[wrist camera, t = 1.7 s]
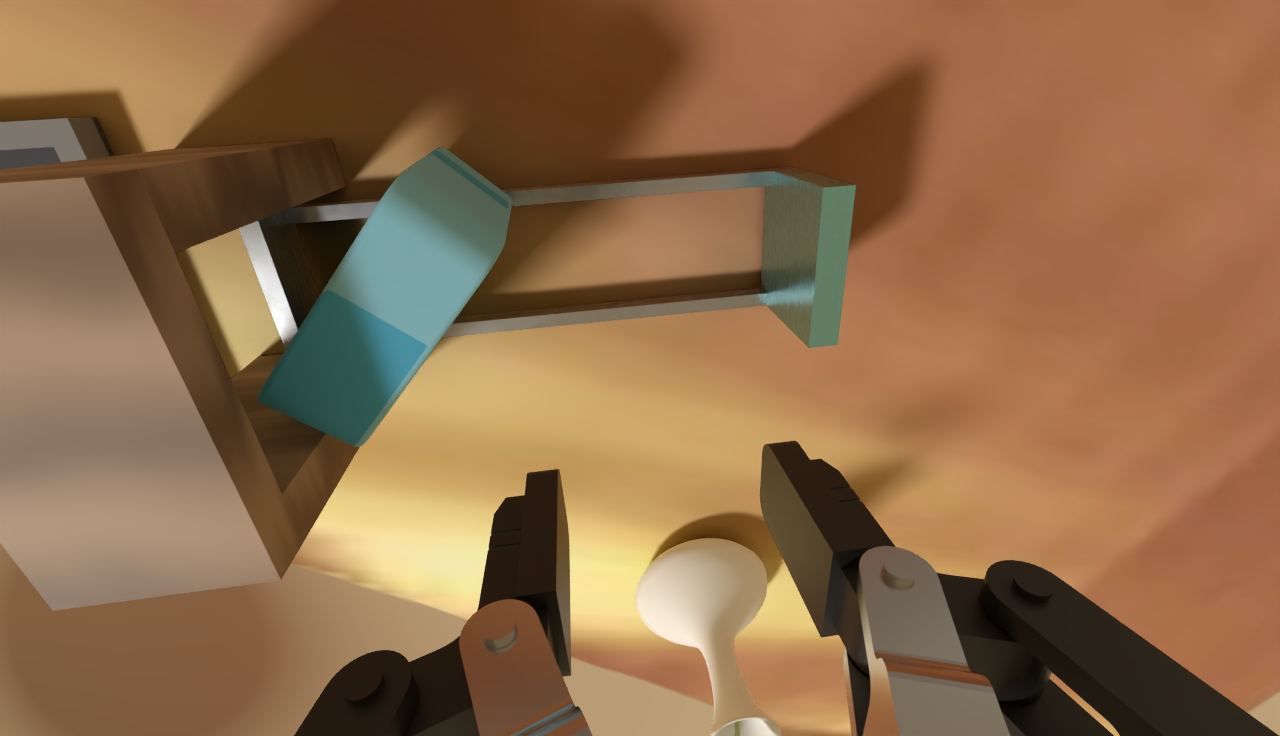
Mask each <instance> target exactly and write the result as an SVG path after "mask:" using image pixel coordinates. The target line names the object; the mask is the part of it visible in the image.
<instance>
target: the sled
mask: <svg viewBox="0 0 1280 736" xmlns="http://www.w3.org/2000/svg"><path fill="white" fill-rule="evenodd" d="M760 186H765V204H764V227H763V249H762V271H761V288H752V289H742V290H731V291H721V292H710V293H700V294H690V295H679V296H669V297H659V298H648V299H638V300H627V301H617V302H607V303H596V304H586V305H576V306H565V307H555V308H544V309H534V310H524V311H513V312H503V313H492V314H482V315H472V316H461V317H456V319H455V320H454V322H453V323H452V324H451V326H450V327H449V328H448V330H447V331H446V333H445V334H444V335H443V337H452V336H462V335H472V334H482V333H492V332H502V331H512V330H522V329H532V328H542V327H552V326H562V325H572V324H582V323H593V322H603V321H613V320H623V319H633V318H643V317H653V316H663V315H673V314H683V313H693V312H703V311H713V310H723V309H733V308H743V307H754V306H764V305H767V306H768V307H769V308H770V309H771V310H772V311H773V312H774V313H775V314H776V315H777V317H778V318H779V319H780V320H781V321H782V322H783V323H784V324H785V325H786V326H787V327H788V328H789V329H790V330H791V331H792V332H793V333H794V334H795V335H796V336H797V337H798V338H799V339H800V340H801V341H802V342H803V343H804V344H805V345H806V346H807V347H808V348H812V347H821V346H831V345H838V336H839V328H840V319H841V311H842V302H843V294H844V285H845V276H846V268H847V259H848V251H849V242H850V233H851V225H852V216H853V208H854V199H855V190H856V185H854V184H851V183H847V182H844V181H840V180H837V179H833V178H830V177H826V176H823V175H819V174H816V173H812V172H809V171H805V170H801V169H798V168H794V167H783V168H770V169H757V170H744V171H731V172H718V173H704V174H691V175H678V176H665V177H652V178H639V179H626V180H613V181H600V182H587V183H574V184H561V185H548V186H535V187H522V188H509V189H501V190H502V191H503V192H505V193H506V194H507V195H509V196H510V197H511V198H512V206H521V205H533V204H546V203H559V202H571V201H584V200H596V199H609V198H622V197H634V196H647V195H659V194H672V193H684V192H697V191H710V190H722V189H735V188H747V187H760ZM380 200H381V198H378V199H365V200H352V201H339V202H326V203H313V204H300V205H297V206H295V207H292V208H289V209H287V210H284V211H282V212H279V213H277V214H274V215H271V216H269V217H266V218H264V219H261V220H259V221H256V222H253V223H251V224H248V225H246V226H243V227H241V228H239V230H240V233H241V235H242V238H243V240H244V243H245V246H246V248H247V251H248V253H249V256H250V259H251V261H252V264H253V266H254V269H255V272H256V274H257V277H258V280H259V282H260V285H261V287H262V290H263V293H264V295H265V298H266V300H267V303H268V306H269V308H270V311H271V313H272V316H273V319H274V321H275V324H276V326H277V329H278V332H279V334H280V337H281V339H282V342H283V345H284V347H285V350H286V348H287V347H288V345H289V344H290V342H291V340H292V339H293V337H294V336H295V334H296V333H297V331H298V329H299V328H300V326H301V325H302V323H303V321H304V320H305V318H306V317H307V315H308V314H309V312H310V310H311V309H312V307H313V306H314V304H315V302H316V301H317V299H318V298H319V294H318V291H317V288H316V285H315V282H314V279H313V276H312V273H311V270H310V267H309V265H308V262H307V259H306V256H305V253H304V250H303V247H302V244H301V241H300V238H299V235H298V232H297V229H296V226H295V223H307V222H319V221H332V220H345V219H357V218H369V217H370V215H371V214H372V212H373V210H374V209H375V207H376V206H377V204H378V203H379V201H380Z"/></svg>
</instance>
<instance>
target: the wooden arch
mask: <svg viewBox="0 0 1280 736" xmlns="http://www.w3.org/2000/svg"><path fill="white" fill-rule="evenodd" d="M343 187H346V186H345V183H344V179H343V176H342V172H341V169H340V165H339V162H338V158H337V155H336V151H335V148H334V144H333V141H332V138H329V139H314V140H299V141H284V142H269V143H254V144H239V145H224V146H209V147H194V148H179V149H169V150H160V151H152V152H144V153H135V154H127V155H119V156H111V157H102V158H94V159H86V160H78V161H69V162H61V163H53V164H44V165H36V166H28V167H20V168H11V169H3V170H0V543H1V544H2V546H3V547H4V548H5V550H6V551H7V552H8V554H9V555H10V556H11V557H12V559H13V560H14V561H15V563H16V564H17V565H18V566H19V568H20V569H21V570H22V572H23V573H24V574H25V575H26V577H27V578H28V579H29V581H30V582H31V583H32V584H33V586H34V587H35V588H36V590H37V591H38V592H39V593H40V595H42V597H43V599H44V600H45V601H46V602H47V604H48V605H49V606H50V607H51V609H52V610H61V609H68V608H76V607H84V606H91V605H98V604H105V603H113V602H120V601H128V600H136V599H143V598H151V597H158V596H165V595H173V594H180V593H187V592H195V591H202V590H210V589H217V588H224V587H231V586H240V585H247V584H255V583H262V582H269V581H277V580H281V579H282V577H283V576H284V574H285V572H286V571H287V569H288V567H289V565H290V564H291V562H292V560H293V559H294V557H295V555H296V554H297V552H298V550H299V549H300V547H301V545H302V543H303V542H304V540H305V538H306V537H307V535H308V533H309V532H310V530H311V528H312V527H313V525H314V523H315V521H316V520H317V518H318V516H319V515H320V513H321V511H322V510H323V508H324V506H325V505H326V503H327V501H328V499H329V498H330V496H331V494H332V493H333V491H334V489H335V488H336V486H337V484H338V483H339V481H340V479H341V477H342V476H343V474H344V472H345V471H346V469H347V467H348V466H349V464H350V462H351V461H352V459H353V457H354V455H355V454H356V452H357V450H358V449H359V447H360V446H359V447H354V446H352V445H350V444H348V443H346V442H343V441H341V440H339V439H337V438H335V437H333V436H330V435H328V434H326V433H324V432H322V431H320V430H317V429H315V428H313V427H311V426H309V425H307V424H304V423H302V422H300V421H298V420H296V419H294V418H291V417H289V416H287V415H285V414H283V413H281V412H278V411H276V410H274V409H272V408H270V407H268V406H265V405H263V404H261V403H260V402H259V401H258V394H259V392H260V390H261V388H262V387H263V385H264V383H265V382H266V380H267V379H268V377H269V375H270V374H271V372H272V371H273V369H274V367H275V366H276V364H277V363H278V361H279V360H280V358H281V356H282V355H283V354H276V355H266V356H258V357H257V358H256V359H255V360H254V361H253V362H251V363H250V364H249V365H248V366H247V367H245V368H244V369H243V370H242V371H241V372H239V373H238V374H237V375H236V376H235V377H233V378H232V379H231V378H230V376H229V374H228V372H227V369H226V367H225V365H224V363H223V360H222V358H221V356H220V354H219V351H218V349H217V347H216V345H215V342H214V340H213V338H212V336H211V333H210V331H209V329H208V327H207V324H206V322H205V320H204V318H203V315H202V313H201V311H200V309H199V306H198V304H197V302H196V300H195V297H194V295H193V293H192V291H191V288H190V286H189V284H188V282H187V280H186V277H185V275H184V273H183V271H182V268H181V266H180V264H179V262H178V259H177V257H176V255H175V253H176V252H179V251H182V250H184V249H187V248H189V247H192V246H194V245H197V244H200V243H202V242H205V241H207V240H210V239H212V238H215V237H218V236H220V235H223V234H225V233H228V232H230V231H233V230H235V229H238V228H241V227H243V226H246V225H248V224H251V223H253V222H256V221H259V220H261V219H264V218H266V217H269V216H271V215H274V214H277V213H279V212H282V211H284V210H287V209H289V208H292V207H295V206H297V205H300V204H302V203H305V202H307V201H310V200H313V199H315V198H318V197H320V196H323V195H325V194H328V193H330V192H333V191H336V190H338V189H341V188H343Z"/></svg>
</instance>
